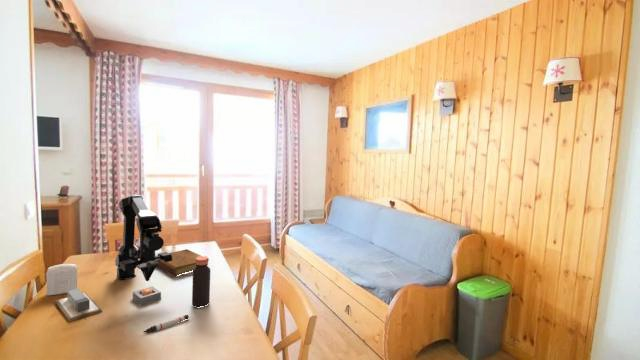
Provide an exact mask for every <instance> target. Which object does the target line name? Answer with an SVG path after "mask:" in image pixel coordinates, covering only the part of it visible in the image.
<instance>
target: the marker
mask: <svg viewBox="0 0 640 360" xmlns="http://www.w3.org/2000/svg"><path fill="white" fill-rule="evenodd" d="M188 318H189V319H190V317H189V314H185V315H182V316H178V317H176V318H173V319H170V320H167V321H164V322H161V323H157V324H154V325H151V326H150V327H149V328H147V329H145V330H143V333H146V334H147V333H154V332H157V331H159V330H160V331H161V330H162V329H166V328H169V327H171V326H170V325H172V326H174V325H173V324H175V325H177V324H176V323H178V322H181V321H183V320H185V319H188ZM181 323H182V322H181ZM178 324H179V323H178ZM168 326H169V327H168ZM165 327H166V328H165Z"/></svg>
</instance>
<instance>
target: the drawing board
mask: <svg viewBox="0 0 640 360" xmlns="http://www.w3.org/2000/svg"><path fill="white" fill-rule="evenodd" d="M82 293H83V294H84V295H85V296H86V297H87V298H88V299H89V309H88V310H84V311H81V312H77V311H76V309H75V308H74V307H73V306H72V305H71V304H70V302H69V301H68V300H67V297H63V298H60V299H56V300H54V302H55V305H56V306H57V307H58V309H59V310H60V312H61V313H62V314H63V315H64V317H65V318H66V320H67V321H68V322H69V323H70V322H73V321H76V320H79V319H83V318H86V317H90V316H93V315H96V314H99V313H102V312H103V309H102V308H101V307H100V306H99V304H97V303H96V302H95V300H93V299H92V298H91V297H90V295H88V294H87V293H86V292H82Z"/></svg>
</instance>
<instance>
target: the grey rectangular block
mask: <svg viewBox="0 0 640 360" xmlns="http://www.w3.org/2000/svg"><path fill="white" fill-rule="evenodd" d="M83 293H84V292H82V291H81V290H80V289H79V288H77V289H74V290H70V291H67V293H66V294H67V295H66V298H67V300H68V301H69V302H70V304H71V305H72V306H73V307H74V308H75V309H76V311H77V312H81V311H84V310H88V309H89V299H88V298H87V297H86V296H85V295H84V294H83Z"/></svg>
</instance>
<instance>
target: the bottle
mask: <svg viewBox="0 0 640 360" xmlns="http://www.w3.org/2000/svg"><path fill="white" fill-rule="evenodd" d="M208 259H209V257H208V256H205V255H201V256H200V257H197V258H196V267H195V268H194V270H193V273H192V288H191V289H192V290H191V291H192V293H191V294H192V297H191V305H193V306H196V307H200V306H205V305H207V304H208V303H209V304H210V300H211V299H210V298H211V297H210V296H211V295H210V291H211V267H209V266H208V265H209V261H208ZM193 306H192V307H193Z"/></svg>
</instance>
